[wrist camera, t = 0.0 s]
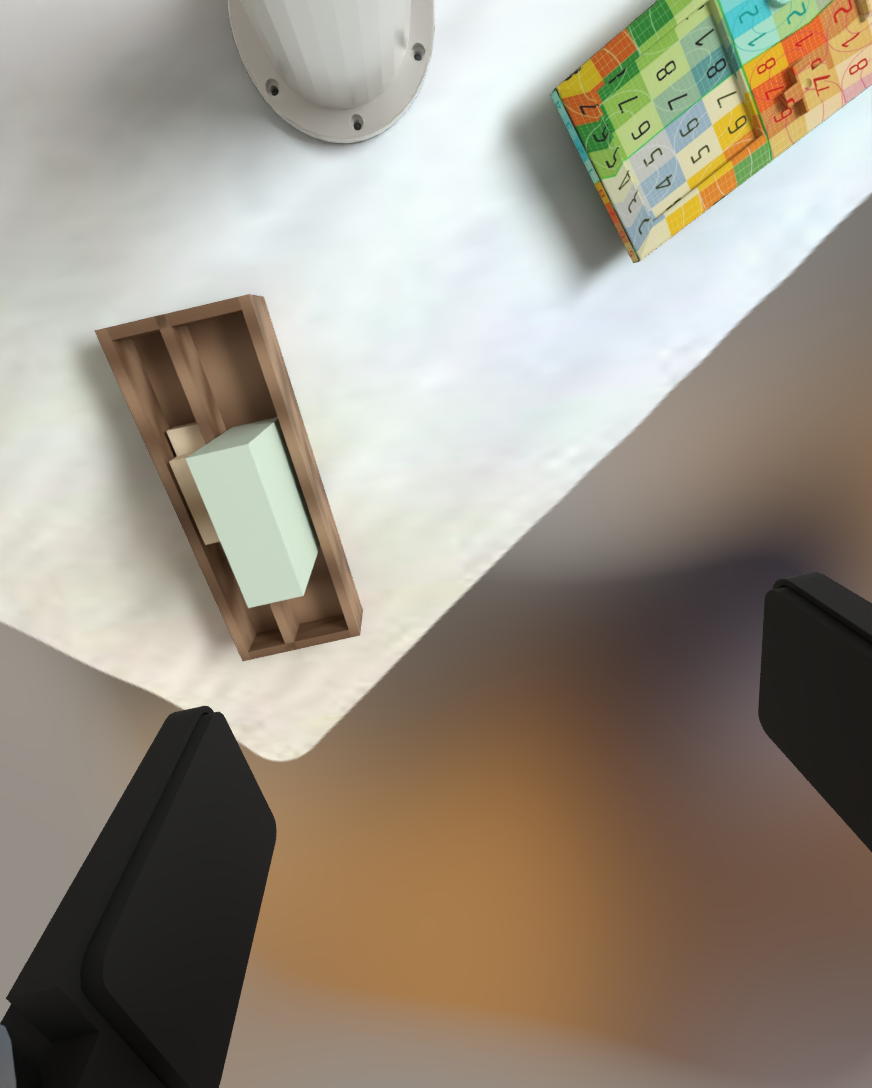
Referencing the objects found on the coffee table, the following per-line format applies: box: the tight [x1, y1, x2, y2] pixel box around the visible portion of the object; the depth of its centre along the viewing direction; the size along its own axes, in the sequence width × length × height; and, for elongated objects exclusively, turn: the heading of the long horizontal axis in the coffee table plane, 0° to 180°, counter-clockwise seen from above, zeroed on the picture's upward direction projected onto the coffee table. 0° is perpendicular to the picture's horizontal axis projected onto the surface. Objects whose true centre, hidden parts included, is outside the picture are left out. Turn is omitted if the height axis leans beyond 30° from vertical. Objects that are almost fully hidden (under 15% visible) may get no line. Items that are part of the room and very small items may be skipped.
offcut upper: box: [169, 453, 220, 545], centre depth 41 cm, size 7×3×2 cm, turn 12°
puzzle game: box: [550, 0, 872, 263], centre depth 34 cm, size 12×5×20 cm
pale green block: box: [185, 417, 320, 608], centre depth 39 cm, size 11×4×10 cm, turn 12°
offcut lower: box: [167, 422, 206, 456], centre depth 42 cm, size 9×3×2 cm, turn 12°
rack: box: [95, 294, 363, 661], centre depth 43 cm, size 28×11×4 cm, turn 12°
